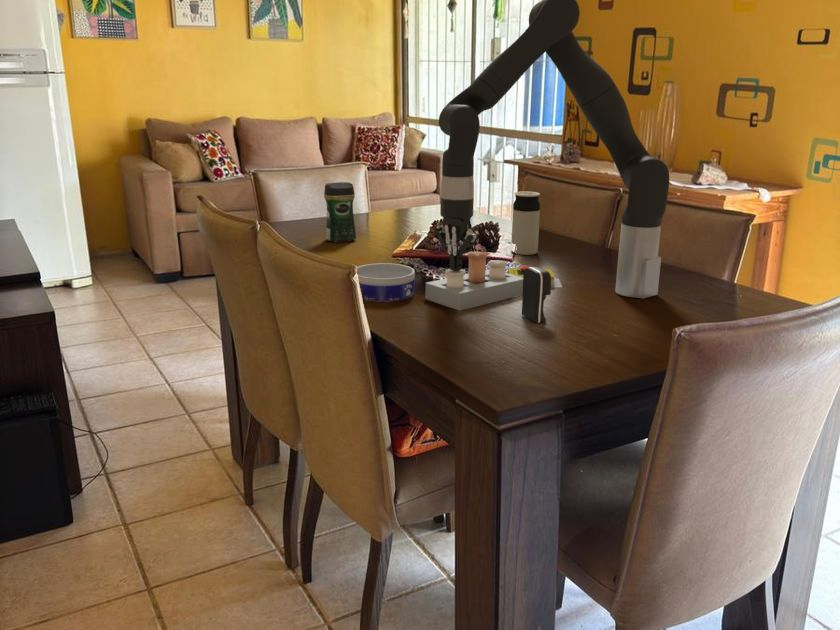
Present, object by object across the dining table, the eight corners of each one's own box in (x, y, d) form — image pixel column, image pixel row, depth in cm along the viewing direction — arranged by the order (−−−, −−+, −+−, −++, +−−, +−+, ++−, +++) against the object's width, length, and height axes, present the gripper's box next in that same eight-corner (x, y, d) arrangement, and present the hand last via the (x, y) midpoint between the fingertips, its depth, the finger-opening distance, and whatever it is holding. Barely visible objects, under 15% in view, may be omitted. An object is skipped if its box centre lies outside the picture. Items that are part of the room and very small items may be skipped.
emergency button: (502, 263, 201) (559, 264, 200) (501, 279, 202) (558, 280, 201) (503, 271, 192) (563, 273, 191) (503, 288, 193) (562, 289, 193)
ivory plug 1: (468, 300, 179) (469, 271, 177) (454, 303, 177) (454, 274, 174) (455, 295, 183) (456, 267, 181) (441, 299, 180) (441, 270, 178)
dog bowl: (401, 306, 177) (401, 280, 175) (341, 299, 182) (340, 274, 180) (423, 289, 190) (423, 266, 189) (367, 283, 195) (367, 260, 194)
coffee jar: (352, 237, 251) (351, 180, 245) (358, 241, 243) (357, 183, 238) (323, 238, 248) (321, 181, 242) (328, 243, 240) (326, 184, 235)
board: (525, 294, 186) (526, 278, 185) (459, 310, 173) (459, 293, 172) (491, 284, 195) (491, 269, 194) (425, 298, 182) (425, 282, 181)
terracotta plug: (490, 283, 183) (491, 254, 181) (476, 286, 180) (477, 257, 178) (476, 279, 186) (477, 251, 184) (463, 282, 183) (463, 253, 181)
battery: (551, 322, 165) (554, 271, 162) (535, 324, 164) (538, 273, 160) (535, 313, 171) (538, 264, 168) (520, 315, 170) (523, 265, 166)
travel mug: (525, 256, 225) (528, 195, 220) (505, 252, 231) (508, 192, 226) (542, 253, 230) (546, 193, 225) (523, 248, 236) (525, 190, 231)
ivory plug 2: (509, 290, 188) (511, 262, 186) (496, 293, 185) (497, 265, 183) (496, 286, 191) (497, 259, 189) (483, 289, 188) (484, 262, 186)
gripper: (489, 197, 170) (487, 273, 175) (450, 191, 179) (448, 262, 185) (464, 201, 165) (463, 278, 170) (425, 193, 175) (424, 267, 180)
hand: (455, 270), depth 177 cm, fingers closed
